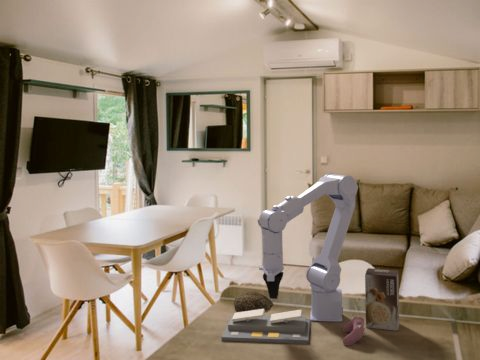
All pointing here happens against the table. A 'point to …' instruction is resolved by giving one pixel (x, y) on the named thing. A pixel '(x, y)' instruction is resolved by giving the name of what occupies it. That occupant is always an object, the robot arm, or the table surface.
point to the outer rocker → (248, 315)
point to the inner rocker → (286, 316)
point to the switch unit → (268, 330)
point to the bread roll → (251, 302)
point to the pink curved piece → (354, 330)
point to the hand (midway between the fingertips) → (273, 297)
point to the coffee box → (382, 299)
